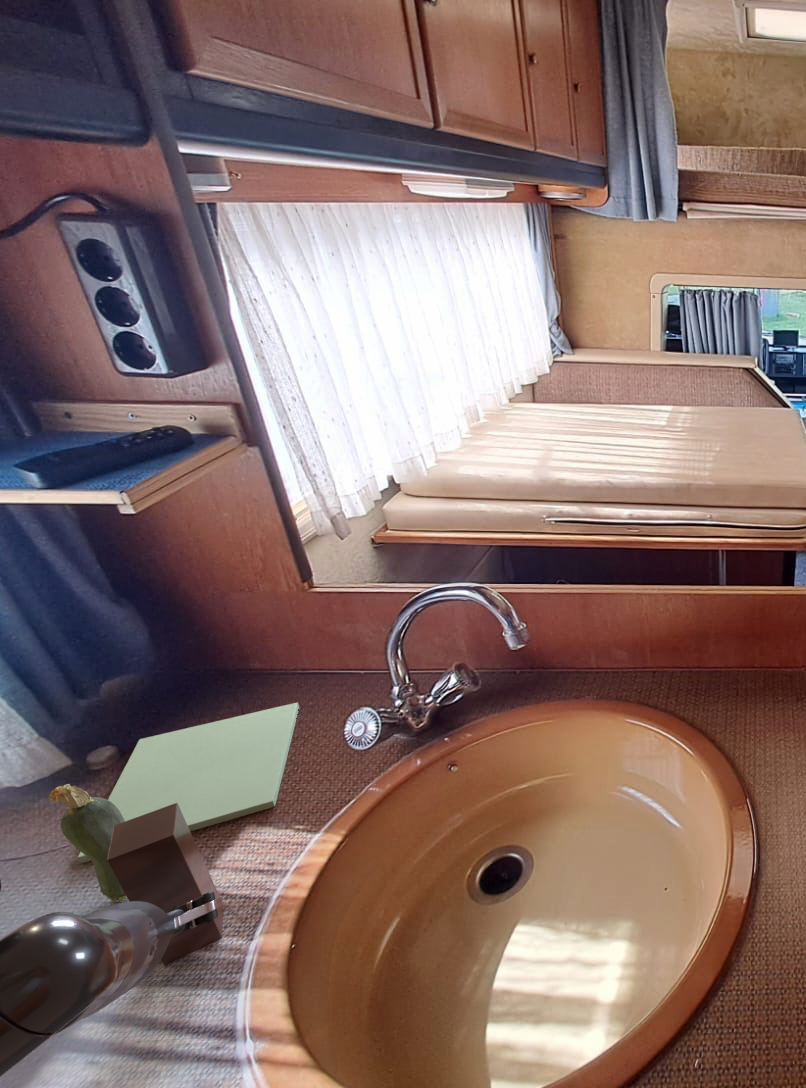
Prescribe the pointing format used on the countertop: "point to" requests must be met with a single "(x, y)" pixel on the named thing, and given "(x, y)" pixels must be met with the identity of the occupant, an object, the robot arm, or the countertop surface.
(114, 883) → the vegetable
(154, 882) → the walnut block
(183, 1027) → the countertop surface
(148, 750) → the cutting board
